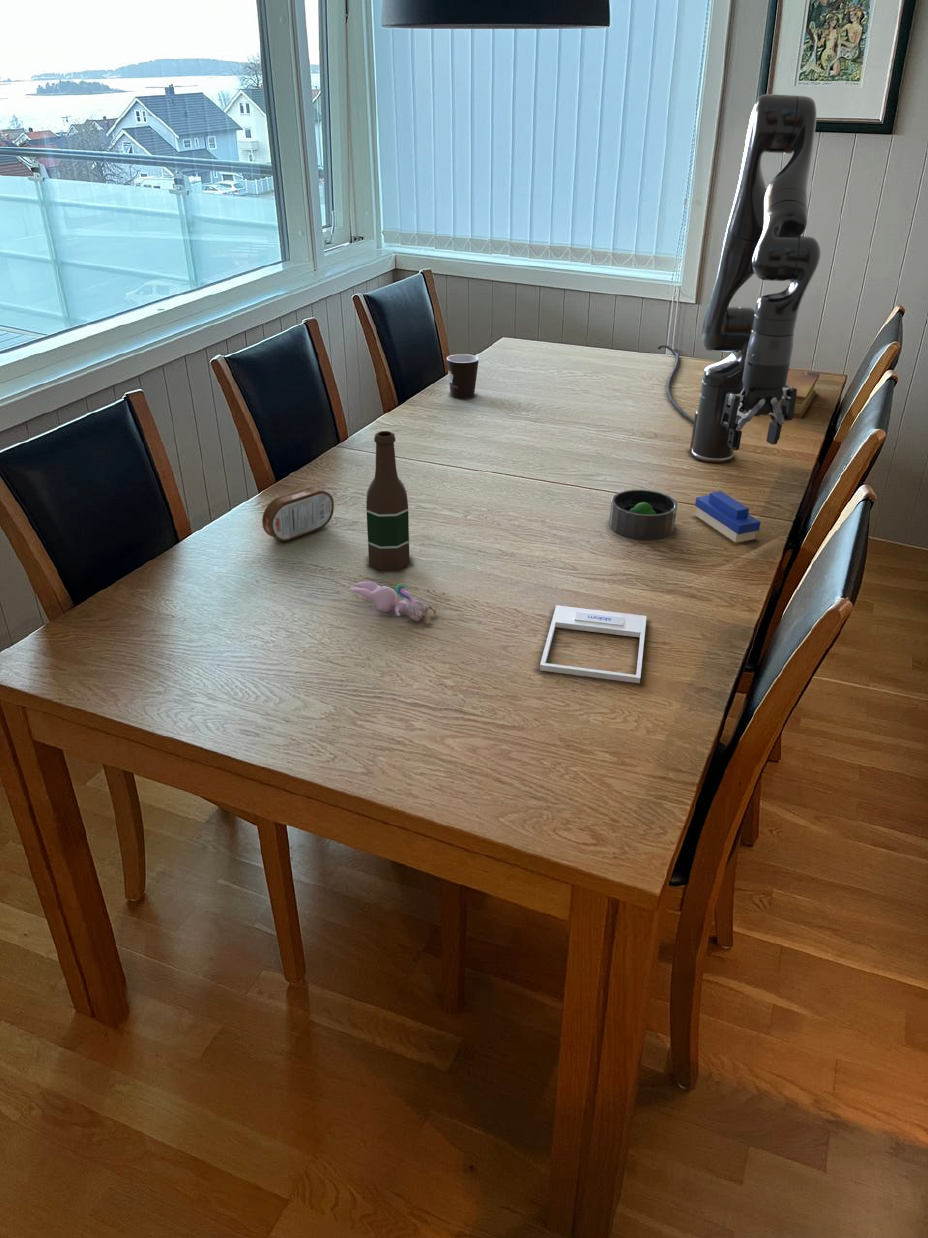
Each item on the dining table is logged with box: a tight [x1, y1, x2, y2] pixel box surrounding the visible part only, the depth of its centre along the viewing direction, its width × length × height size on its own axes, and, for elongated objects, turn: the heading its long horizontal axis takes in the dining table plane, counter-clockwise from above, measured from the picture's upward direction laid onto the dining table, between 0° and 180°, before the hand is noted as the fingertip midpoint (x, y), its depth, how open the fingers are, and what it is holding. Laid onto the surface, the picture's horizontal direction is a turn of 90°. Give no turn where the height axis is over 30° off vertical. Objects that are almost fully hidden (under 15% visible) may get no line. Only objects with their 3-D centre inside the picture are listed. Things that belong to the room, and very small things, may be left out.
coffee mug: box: [446, 353, 480, 400], centre depth 249 cm, size 12×9×10 cm
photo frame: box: [539, 604, 647, 684], centre depth 141 cm, size 15×1×18 cm
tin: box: [261, 485, 335, 542], centre depth 172 cm, size 15×3×8 cm, turn 134°
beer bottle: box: [365, 430, 410, 572], centre depth 159 cm, size 8×8×24 cm
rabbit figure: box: [349, 580, 437, 626], centre depth 148 cm, size 6×6×15 cm
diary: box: [778, 368, 821, 418], centre depth 247 cm, size 23×19×6 cm
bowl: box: [608, 489, 678, 541], centre depth 177 cm, size 12×12×6 cm
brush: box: [694, 490, 762, 543], centre depth 177 cm, size 14×5×6 cm, turn 22°
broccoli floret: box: [628, 502, 657, 515], centre depth 176 cm, size 5×6×5 cm
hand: (752, 446), depth 169 cm, fingers open, 8 cm apart
